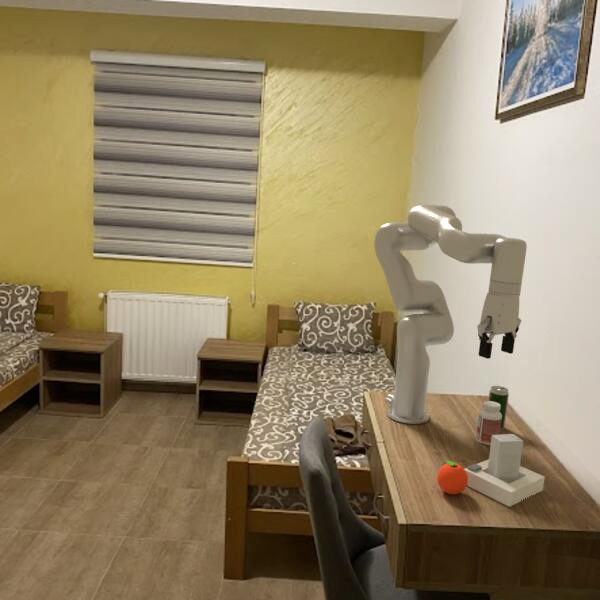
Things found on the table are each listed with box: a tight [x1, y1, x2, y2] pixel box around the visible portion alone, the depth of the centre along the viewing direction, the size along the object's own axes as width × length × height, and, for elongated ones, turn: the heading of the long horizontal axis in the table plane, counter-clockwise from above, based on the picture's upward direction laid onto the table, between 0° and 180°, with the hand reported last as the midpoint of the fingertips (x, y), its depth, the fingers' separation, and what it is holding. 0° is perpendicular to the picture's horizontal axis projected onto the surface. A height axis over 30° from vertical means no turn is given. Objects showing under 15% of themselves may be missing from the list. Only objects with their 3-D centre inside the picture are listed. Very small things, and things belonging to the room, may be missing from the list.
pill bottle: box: [475, 400, 502, 446], centre depth 175 cm, size 6×6×11 cm
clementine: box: [436, 460, 468, 495], centre depth 145 cm, size 8×7×7 cm
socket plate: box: [464, 458, 546, 507], centre depth 149 cm, size 13×14×4 cm
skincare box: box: [487, 433, 524, 484], centre depth 149 cm, size 6×4×12 cm
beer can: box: [487, 385, 510, 431], centre depth 185 cm, size 5×5×12 cm
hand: (495, 354), depth 159 cm, fingers open, 9 cm apart
